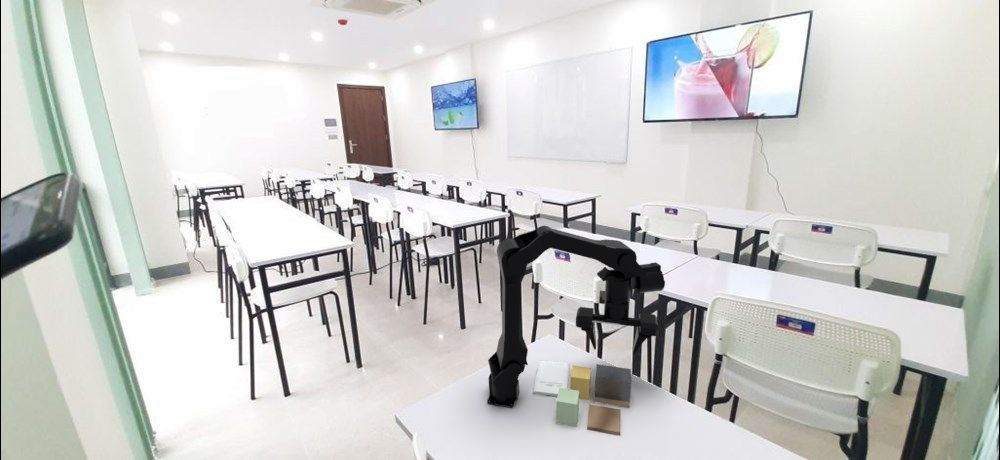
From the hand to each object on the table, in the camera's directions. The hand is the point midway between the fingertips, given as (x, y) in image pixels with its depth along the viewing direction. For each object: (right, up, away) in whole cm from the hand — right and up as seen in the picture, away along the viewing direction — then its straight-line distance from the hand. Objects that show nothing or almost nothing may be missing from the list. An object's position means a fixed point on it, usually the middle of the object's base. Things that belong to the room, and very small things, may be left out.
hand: (614, 351), depth 101 cm
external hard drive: (-15, -9, +5) cm, 18 cm away
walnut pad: (-5, -13, -10) cm, 17 cm away
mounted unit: (-1, -10, -3) cm, 11 cm away
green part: (-13, -13, -8) cm, 20 cm away
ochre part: (-8, -10, -1) cm, 13 cm away
